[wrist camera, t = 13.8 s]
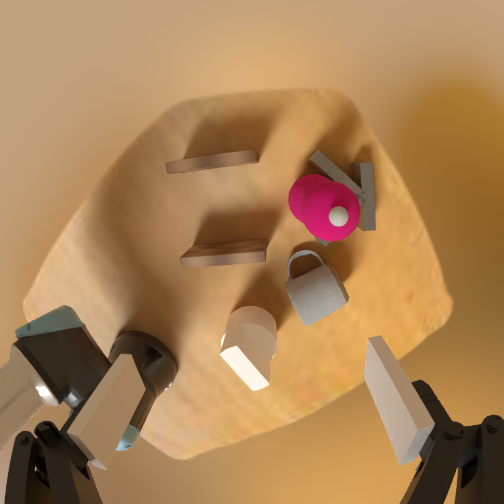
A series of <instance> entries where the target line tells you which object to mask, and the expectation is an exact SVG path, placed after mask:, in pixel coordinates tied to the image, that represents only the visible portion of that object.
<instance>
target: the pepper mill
mask: <svg viewBox="0 0 504 504" xmlns="http://www.w3.org/2000/svg"><path fill="white" fill-rule="evenodd" d="M288 201H289V206H290V209H291V211H292V213H293V215H294V216H295V217H296V218H297V219H298V220H299V221H301V222H303V223H304V224H305V226H306V228H307V229H308V230H309V232H310V233H312V234H313V235H314V236H316V237H317V238H319V239H321V240H325V241H339V240H342V239H344V238H346V237H348V236H349V235H350V234H351V233H352V232H353V231H354V230H355V229H356V227H357V225H358V223H359V220H360V213H361V209H360V204H359V201H358V198H357V196H356V195H355V193H354V192H353V191H352V190H351V189H350V188H349V187H347V186H346V185H344V184H342V183H339V182H336V181H331V180H329V179H328V178H326V177H324V176H322V175H318V174H309V175H305V176H303V177H301V178H299V179H298V180H297V181H296V182H295V183H294V184H293V186H292V187H291V189H290V192H289V200H288Z"/></svg>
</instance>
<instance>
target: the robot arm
mask: <svg viewBox="0 0 504 504" xmlns="http://www.w3.org/2000/svg"><path fill="white" fill-rule="evenodd" d="M85 326H86V325H85V324H84V323H83V322H82V321H81V320H80V318H79V317H78V315H77V314H76V312H75V311H74V310H73V308H71V307H70V306H66V305H64V306H61V307H58V308H56V309H54V310H52V311H50V312H49V313H47V314H45V315H43V316H41V317H39V318H37V319H35V320H33V321H31V322H29V323H28V324H26V325H24V326H22V327H20V328H18V329H17V330H16V331H15V333H16V337H17V338H18V340H17V341H16V342H15V343H14V344H12V345H11V353H10V359H9V361H7V362H6V363H5V364H4V365H3V366H2V367H0V450H1V449H2V448H3V446H5V445H6V443H7V442H8V441H9V440H10V439H11V438H12V437H13V436H14V435H15V434H16V433H17V432H18V431H19V430H20V429H21V428H22V427H23V426H24V425H25V424H26V423H27V422H28V421H29V420H30V419H31V418H32V417H33V416H34V415H35V414H36V413H37V412H38V411H39V410H40V409H41V408H42V407H43V406H44V405H51V406H58V405H60V404H61V403H62V401H65V403H66V404H67V405H68V406H69V407H70V408H71V411H70V412H69V418H68V420H67V422H66V423H65V424H64V426H63V427H62V429H61V430H60V431H59V430H58V429H57V427H56V426H55V424H54V423H52V422H51V421H43V422H41V423H39V424H38V425H37V426H36V428H35V430H34V433H35V435H36V436H37V437H38V438H35V437H34V436H33V434H32V433H31V432H29V431H22V432H21V433H19V434H18V435H17V436H16V438H15V442H14V447H13V451H12V456H11V461H10V466H9V472H8V478H7V485H6V493H5V504H103V503H102V501H101V498H100V496H99V493H98V491H97V488H96V485H95V483H94V480H93V477H92V474H91V471H90V469H89V466H88V465H87V462H88V460H89V461H90V462H91V463H92V464H93V465H94V466H95V467H99V468H102V469H105V470H107V468H108V466H109V464H110V462H111V459H112V457H113V455H114V453H115V451H116V450H117V451H123V450H127V449H129V448H131V447H132V446H133V444H134V442H135V441H136V439H137V437H138V436H139V435H140V431H141V429H142V427H143V425H144V423H145V420H146V418H147V416H148V414H149V412H150V410H151V408H152V405H153V403H154V401H155V399H156V398H157V397H158V396H159V395H160V394H161V393H162V392H163V391H164V390H166V389H168V388H169V387H170V386H171V385H172V383H173V381H174V379H175V377H176V374H177V364H176V361H175V359H174V357H173V355H172V353H171V352H170V351H169V349H168V348H167V347H166V346H165V345H164V344H163V343H161V342H160V341H159V340H157V339H156V338H154V337H152V336H150V335H148V334H145V333H142V332H137V331H129V332H125V333H123V334H121V335H120V336H119V337H118V338H117V339H116V340H115V341H114V343H113V344H112V346H111V349H110V354H109V357H108V359H107V357H106V356H105V355H104V353H103V352H102V350H101V349H100V348H99V346H98V345H97V343H96V342H95V340H94V339H93V337H92V336H91V334H90V333H89V331H88V330H87V328H86V327H85ZM364 379H365V381H366V383H367V385H368V388H369V390H370V392H371V395H372V397H373V399H374V402H375V404H376V407H377V409H378V412H379V414H380V416H381V419H382V421H383V424H384V426H385V429H386V431H387V434H388V436H389V439H390V441H391V444H392V446H393V449H394V452H395V454H396V457H397V460H398V462H399V465H403V464H406V463H409V462H412V461H415V460H416V458H417V457H418V455H419V454H420V456H421V459H422V461H421V462H420V464H419V465H418V467H417V468H416V473H415V475H414V477H413V479H412V481H411V483H410V485H409V487H408V489H407V491H406V493H405V495H404V497H403V499H402V500H401V502H400V504H443V503H444V501H445V499H446V496H447V494H448V491H449V488H450V486H451V483H452V481H453V478H454V475H455V472H456V469H457V468H458V478H457V488H456V497H455V504H504V420H503V419H502V418H501V417H500V416H498V415H490V416H487V417H486V418H485V419H484V420H483V422H482V423H481V424H479V425H473V426H463V425H462V424H461V423H458V422H453V421H452V420H451V419H450V417H449V415H448V414H447V412H446V411H445V409H444V408H443V406H442V405H441V403H440V401H439V400H438V399H437V397H436V395H435V394H434V392H433V390H432V389H431V387H430V386H429V385H428V384H427V383H425V382H424V381H422V380H418V381H415V382H410V380H409V379H408V377H407V376H406V374H405V372H404V371H403V369H402V367H401V366H400V365H399V363H398V361H397V359H396V358H395V356H394V355H393V353H392V352H391V350H390V348H389V347H388V345H387V344H386V342H385V341H384V339H383V338H382V336H376V337H370V338H368V343H367V352H366V361H365V368H364ZM35 466H36V467H37V470H36V471H35Z"/></svg>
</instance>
